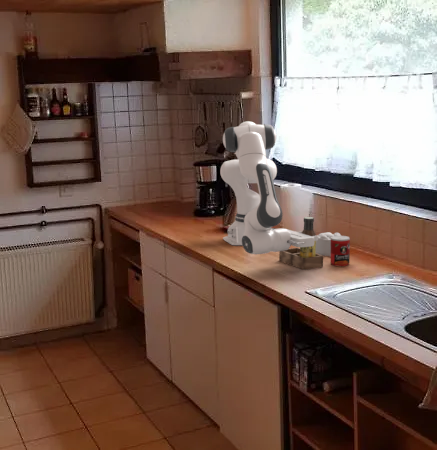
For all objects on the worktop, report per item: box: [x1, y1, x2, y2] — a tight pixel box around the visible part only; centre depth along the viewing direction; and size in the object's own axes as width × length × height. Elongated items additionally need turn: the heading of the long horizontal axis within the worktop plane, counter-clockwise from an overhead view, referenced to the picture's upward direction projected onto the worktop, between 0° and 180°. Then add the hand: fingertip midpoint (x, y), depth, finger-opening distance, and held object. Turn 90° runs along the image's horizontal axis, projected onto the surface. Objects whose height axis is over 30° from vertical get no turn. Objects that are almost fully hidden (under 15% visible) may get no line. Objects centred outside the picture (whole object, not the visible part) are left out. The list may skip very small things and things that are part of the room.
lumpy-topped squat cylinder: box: [316, 231, 342, 257], centre depth 310 cm, size 10×13×9 cm
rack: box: [278, 247, 324, 271], centre depth 293 cm, size 18×9×4 cm, turn 28°
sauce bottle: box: [299, 216, 317, 258], centre depth 287 cm, size 6×6×20 cm
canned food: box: [330, 235, 351, 267], centre depth 290 cm, size 8×8×11 cm
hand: (310, 235), depth 287 cm, fingers open, 8 cm apart
